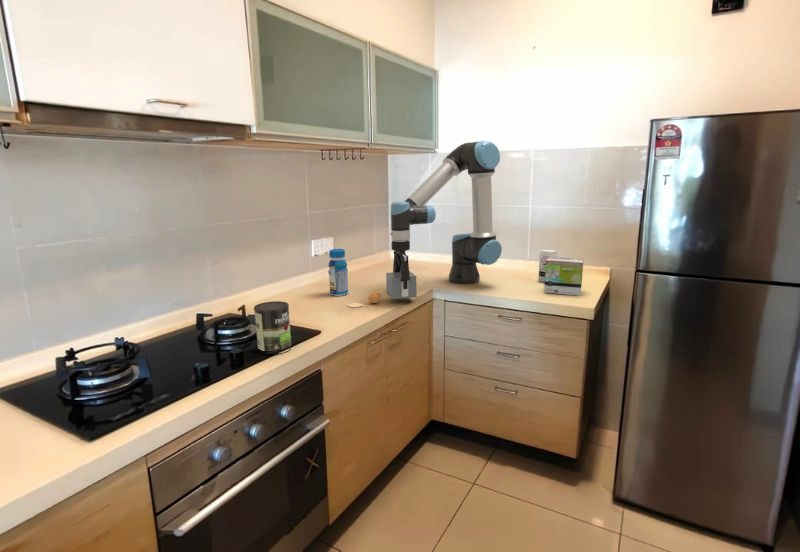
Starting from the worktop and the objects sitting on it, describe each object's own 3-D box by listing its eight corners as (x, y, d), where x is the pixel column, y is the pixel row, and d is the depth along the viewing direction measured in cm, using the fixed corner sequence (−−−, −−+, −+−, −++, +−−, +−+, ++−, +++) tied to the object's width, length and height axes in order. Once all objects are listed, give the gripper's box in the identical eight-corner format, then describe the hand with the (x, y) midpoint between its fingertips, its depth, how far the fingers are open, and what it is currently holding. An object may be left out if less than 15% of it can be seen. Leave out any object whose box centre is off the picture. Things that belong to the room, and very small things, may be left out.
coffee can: (298, 345, 146) (295, 302, 143) (277, 357, 137) (273, 312, 134) (273, 341, 151) (269, 299, 148) (250, 352, 142) (246, 308, 138)
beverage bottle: (345, 296, 202) (343, 251, 197) (327, 296, 203) (324, 251, 199) (351, 291, 210) (349, 248, 205) (333, 291, 211) (330, 248, 207)
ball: (367, 302, 192) (367, 290, 191) (379, 301, 194) (379, 289, 192) (370, 305, 188) (369, 293, 187) (382, 304, 189) (381, 292, 188)
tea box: (543, 293, 200) (545, 260, 197) (545, 288, 209) (547, 255, 206) (581, 296, 194) (583, 261, 191) (581, 290, 204) (583, 257, 200)
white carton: (554, 279, 224) (555, 249, 221) (558, 283, 216) (559, 252, 213) (537, 279, 225) (538, 249, 221) (540, 283, 217) (541, 252, 213)
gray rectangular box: (386, 293, 196) (386, 272, 194) (409, 291, 199) (409, 271, 197) (392, 299, 187) (391, 277, 185) (416, 297, 189) (416, 276, 187)
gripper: (385, 237, 198) (386, 287, 202) (398, 244, 176) (399, 300, 181) (402, 236, 199) (402, 286, 204) (417, 243, 178) (418, 299, 183)
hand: (401, 293), depth 193 cm, fingers closed on gray rectangular box, 10 cm apart
